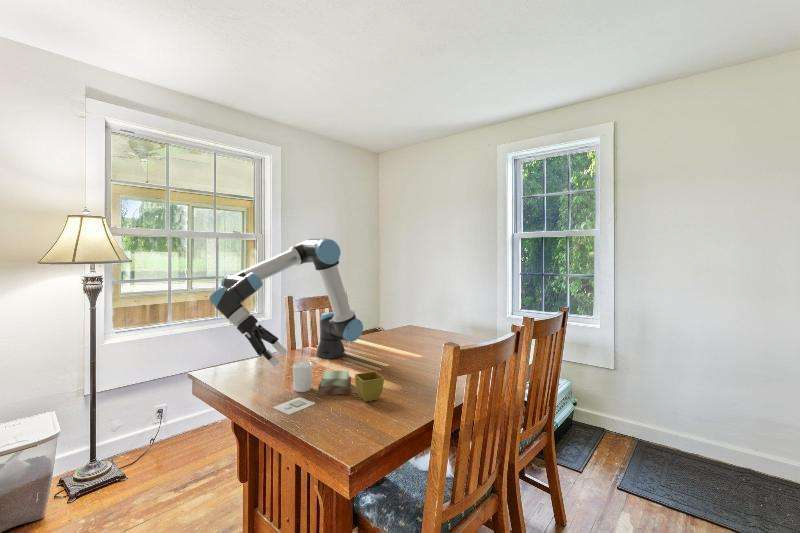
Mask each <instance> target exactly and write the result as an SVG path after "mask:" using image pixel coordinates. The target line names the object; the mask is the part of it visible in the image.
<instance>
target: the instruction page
mask: <svg viewBox="0 0 800 533" xmlns="http://www.w3.org/2000/svg"><path fill="white" fill-rule="evenodd" d="M315 405H316V402H314V401H310V400H308V399H305V398H302V397H301V396H299V397H296V398H293V399H291V400H288V401H285V402H282V403H280V404H278V405H275V406H273V407H271V409H274V410H276V411H278V412H280V413H283V414H285V415H287V416H291V415H292V414H295V413H298V412H299V411H302V410H304V409H306V408H310V407H312V406H315Z"/></svg>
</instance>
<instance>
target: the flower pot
mask: <svg viewBox="0 0 800 533" xmlns="http://www.w3.org/2000/svg"><path fill="white" fill-rule="evenodd" d="M354 378H355V379H354V380H355V387H356V391H357V394H358V396H359V397H360V399H362V401H364V403H368V402H367V401H369V402H374V401H377V400H378V399H380V397H381V395H382V392H383V390H384V389H383V388H384V382H385V377H384V376H383V375H381V374H380V373H378V372H377V371H373V370H372V371H368V372H362V373H354ZM373 400H374V401H373Z"/></svg>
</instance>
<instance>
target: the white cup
mask: <svg viewBox="0 0 800 533" xmlns="http://www.w3.org/2000/svg"><path fill="white" fill-rule="evenodd" d="M313 370H314V363H313V362H310V361H299V362H295V363H293V364H292V379H293V380H292V381H293V383H292V384H293V391H295V392H297V393H305V392H309V391H311V389H312V384H313V383H312V382H313V373H314V372H313Z"/></svg>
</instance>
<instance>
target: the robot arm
mask: <svg viewBox="0 0 800 533" xmlns="http://www.w3.org/2000/svg"><path fill="white" fill-rule="evenodd" d="M341 252H342V251H341V248H340V245H339V244H338V243H337V242H336V241H335V240H333V239H331V238H325V237H323V238H309V239H306V240H303V241H301V242H299V243H297V244H295V245H293V246H290V247H289V248H288V250H287V251H284V252H282V253H280V254H278V255H276V256H273V257H271V258H269V259H266V260H264V261H262V262H259V263H257V264H255V265H252V266H251V267H249V268H246V269H244V270H241V271H239V272H237V273H235V274H228V275H225V276H224V277H223V278H222V279H221V281H220V282H221V283H220V285H221V287H219V288H217V289H216V290H214V291H213V292H212V294H211V295H210V296H209V299H208V300H209V301H210V303H211V304H212V305H213V306H214V307H215V309H217V310H218V311H219V312H220V314H222V315H223V316H224V317H225V318H226V319H227V320H228V321H229V324H230V325H231V324H232V326H234V327H236V329H237V330H238V332H240V334H241V335H244V337H245V338H246V340H248V342H249V343H250V345H251V346H252V348H253V349H254V351H255V352H256V354H257V355H258V356H259V357H262V356H263V357H264V358H265V359H266V360H267V361H268V362H269V363H270V364H271V365H272V366H273V367H274V368H275V367H276V366H278V365H279V363H281V361H280V359H279V358H277V357H276V355H275V354H273V353H272V352H271V351H270V349H267V347H266V345H265V344H264V341H265V342H267V343H268V344H271V345H272V347H273V349H275V351H277V352H278V353H279V354H280V355H281V356H282V357H285V356H286V355H287V354H288V353H289V351H288V350H287V349H286V348H285V347H284V346H283V345H282V344H281V342H280V341H279V337H277V336H276V335H274V334H273V333H272V332H270V331H269V330H267V329H266V328H265V327H263V325H261V324H260V323H259V324H258V325H257V323H258V319H257V318H256V317H255V316H254V315H253V314H251V311H250V310H248V309H247V308H246V307H245V306H244V305H243V304H242V303H243V302H245V301H246V300H247V299H249V298H250V297H251V296H252V295H254V294H256V292H258V290H260V289H261V288H262V287H263V281H264V280H267V279H268V278H270V277H272V276H274V275H277V274H279V273H281V272H283V271H285V270H287V269H289V268H291V267H293V266H300V265H302V264H306V263H307V264H308V263H313V265H314V269H315V270H316V271H317V272H319V273H320V276H321V279H322V282H323V285H324V289H325V291H326V292H325V293H326V295H327V298H328V301H329V304H330V308H331V310H332V311H331V312H329V311H327V312H323V313H321V315H320V319H319V321H320V323H319V324H320V326H319V331H320V332H319V341H318V346H317V349H316V351H315V355H316V356H317V357H318V358H320V359H328V360H329V359H331V360H332V359H339V358H342V356H343V357H345V355H346V350H345V346H344V344H343V341H346V342H351V343H353V342H355V341H357V340H358V339H359V338H360V337H361V336H362V333H363V330H364V324H363V322H362V320H360V319H359V318H357V317H356V313H355V311H354V310H352V309H351V306H350V303H349V300H348V297H347V293H346V291H345V287H344V285H343V282H342V277H341V275H340V274H341V273H340V271H339V268H338V266H339V264H340V258H341V257H340V256H341Z"/></svg>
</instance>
